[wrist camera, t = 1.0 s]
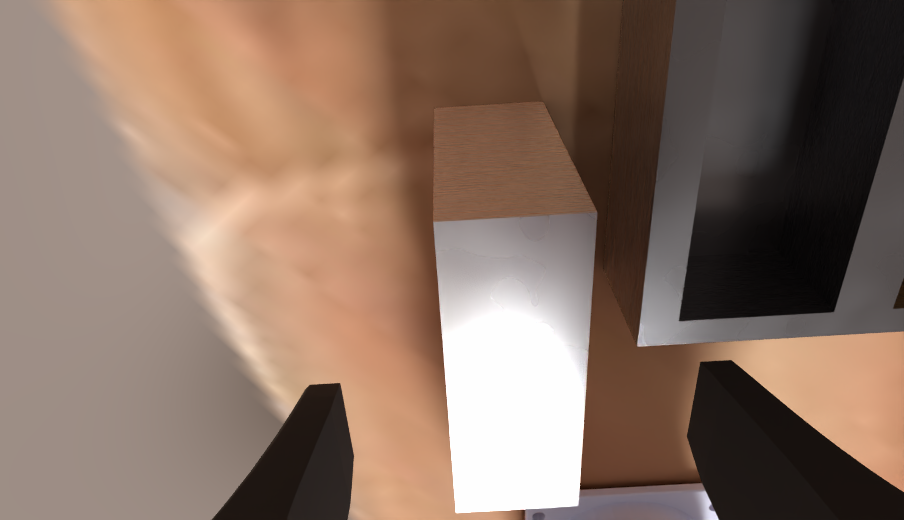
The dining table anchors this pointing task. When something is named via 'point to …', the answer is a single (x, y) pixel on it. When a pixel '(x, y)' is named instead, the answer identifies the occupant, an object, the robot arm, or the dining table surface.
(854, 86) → the rack
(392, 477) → the dining table surface
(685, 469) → the dining table surface
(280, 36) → the dining table surface
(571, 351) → the block
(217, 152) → the dining table surface
